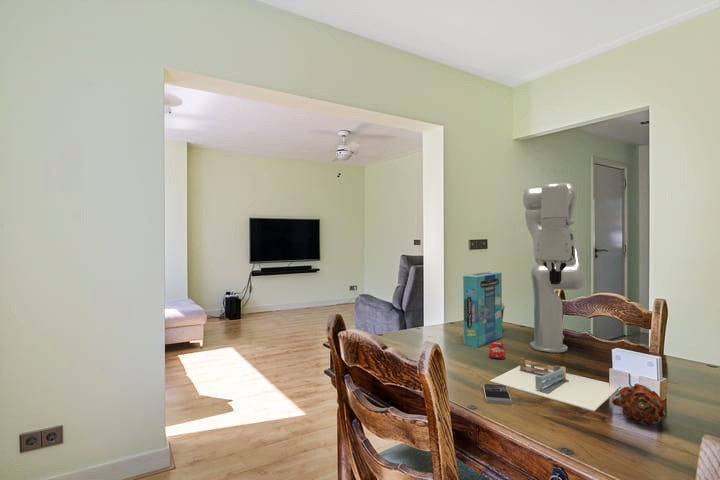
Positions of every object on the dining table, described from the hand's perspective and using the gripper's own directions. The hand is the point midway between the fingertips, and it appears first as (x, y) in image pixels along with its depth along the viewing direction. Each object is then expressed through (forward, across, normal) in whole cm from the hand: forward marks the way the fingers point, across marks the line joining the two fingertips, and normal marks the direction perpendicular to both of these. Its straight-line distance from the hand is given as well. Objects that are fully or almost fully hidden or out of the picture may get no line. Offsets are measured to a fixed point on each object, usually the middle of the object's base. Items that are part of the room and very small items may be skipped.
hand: (555, 283), depth 119 cm
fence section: (+27, +2, +7) cm, 28 cm away
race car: (+28, +22, -4) cm, 35 cm away
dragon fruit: (+27, -25, +19) cm, 42 cm away
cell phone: (+28, +4, +30) cm, 41 cm away
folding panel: (+26, -4, +13) cm, 30 cm away
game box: (+27, +34, -16) cm, 46 cm away
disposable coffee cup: (+27, +40, -35) cm, 60 cm away
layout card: (+27, -4, +11) cm, 29 cm away
